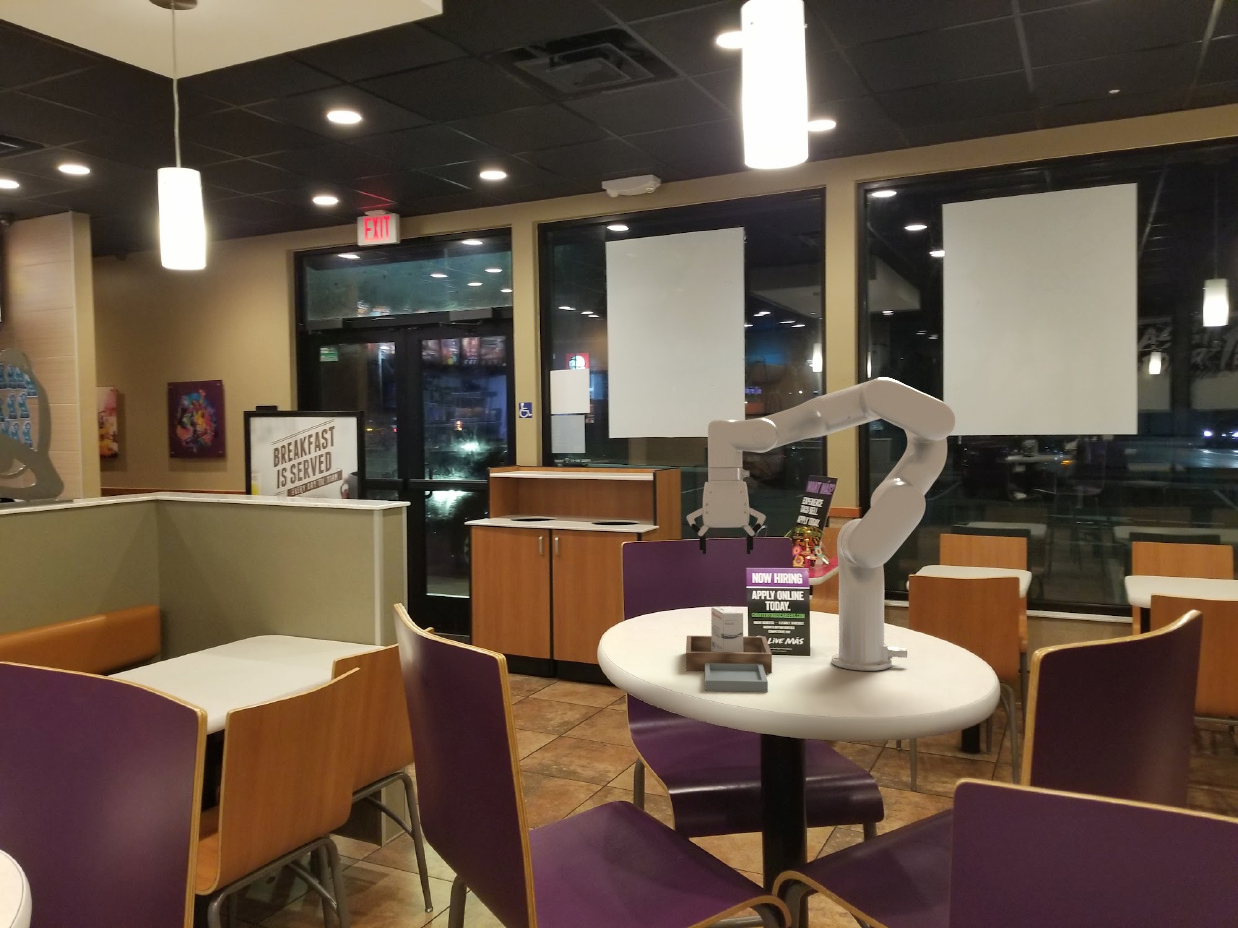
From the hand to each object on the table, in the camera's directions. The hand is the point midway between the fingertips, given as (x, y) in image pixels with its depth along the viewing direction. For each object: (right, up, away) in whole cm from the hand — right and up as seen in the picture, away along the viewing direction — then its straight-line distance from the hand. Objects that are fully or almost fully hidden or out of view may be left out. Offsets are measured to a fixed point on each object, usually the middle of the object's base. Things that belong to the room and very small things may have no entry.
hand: (726, 553), depth 192 cm
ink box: (0, -24, 0) cm, 24 cm away
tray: (0, -24, -16) cm, 29 cm away
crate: (0, -24, 0) cm, 24 cm away
